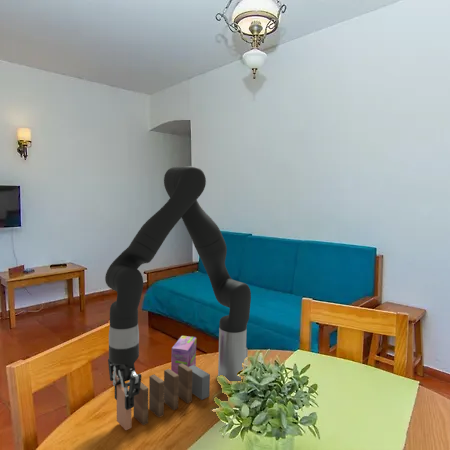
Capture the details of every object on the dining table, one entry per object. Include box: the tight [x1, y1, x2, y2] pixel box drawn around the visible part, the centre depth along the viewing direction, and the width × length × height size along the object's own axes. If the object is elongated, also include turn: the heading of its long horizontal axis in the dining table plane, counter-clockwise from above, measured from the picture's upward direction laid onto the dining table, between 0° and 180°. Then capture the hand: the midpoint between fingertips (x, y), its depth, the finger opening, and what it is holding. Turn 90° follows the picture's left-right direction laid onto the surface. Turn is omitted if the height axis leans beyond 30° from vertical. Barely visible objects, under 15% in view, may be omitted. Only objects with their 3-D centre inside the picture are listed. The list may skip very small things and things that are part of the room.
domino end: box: [116, 384, 132, 431], centre depth 94 cm, size 2×5×10 cm, turn 44°
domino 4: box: [178, 363, 193, 404], centre depth 108 cm, size 2×5×10 cm, turn 44°
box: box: [170, 335, 197, 374], centre depth 121 cm, size 10×6×12 cm, turn 168°
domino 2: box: [148, 374, 165, 418], centre depth 101 cm, size 2×5×10 cm, turn 44°
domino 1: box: [133, 381, 149, 426], centre depth 97 cm, size 2×5×10 cm, turn 44°
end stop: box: [189, 365, 211, 401], centre depth 111 cm, size 3×8×7 cm, turn 44°
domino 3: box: [163, 368, 179, 411], centre depth 104 cm, size 2×5×10 cm, turn 44°
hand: (124, 402), depth 94 cm, fingers closed on domino end, 5 cm apart
